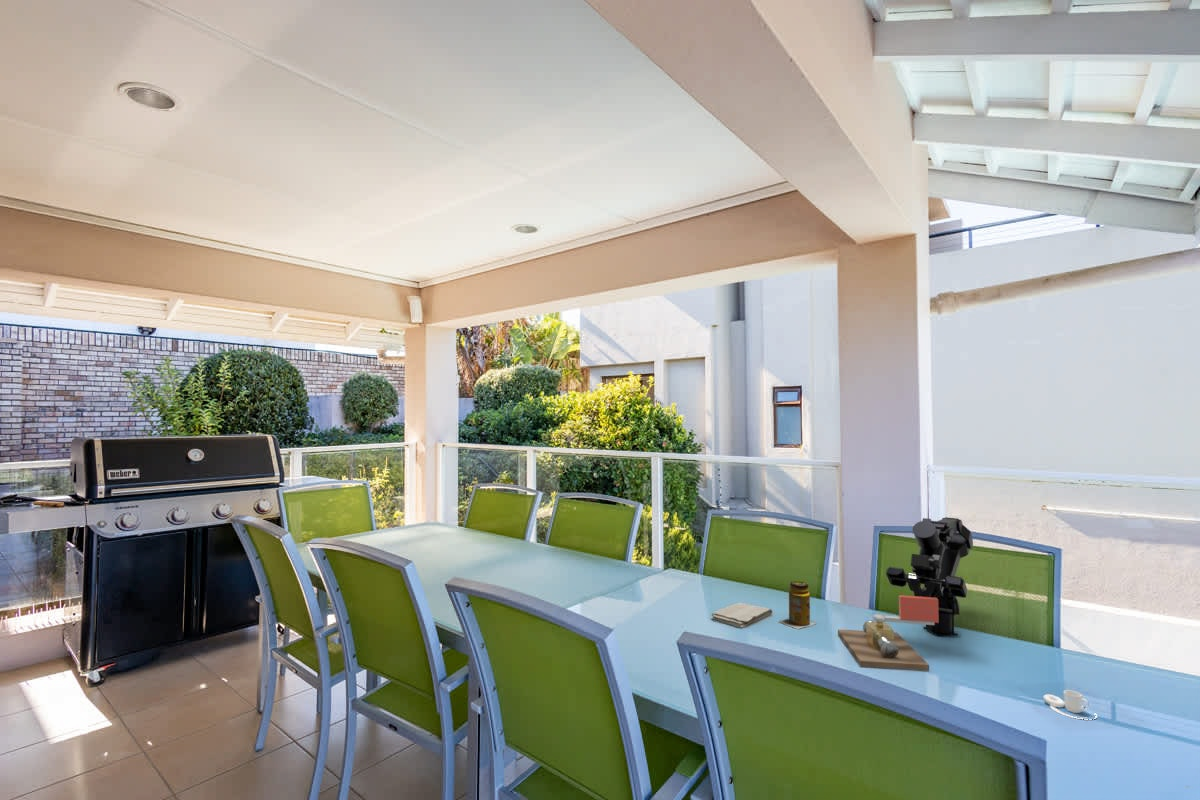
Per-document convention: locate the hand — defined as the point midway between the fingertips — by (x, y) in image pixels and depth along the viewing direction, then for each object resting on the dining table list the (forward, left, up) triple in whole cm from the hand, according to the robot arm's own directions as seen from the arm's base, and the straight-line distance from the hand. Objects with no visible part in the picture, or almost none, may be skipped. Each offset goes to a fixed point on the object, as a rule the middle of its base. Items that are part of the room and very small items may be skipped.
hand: (919, 609), depth 154 cm
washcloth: (+37, -32, -12) cm, 51 cm away
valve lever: (+4, 0, -3) cm, 5 cm away
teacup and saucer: (-14, +29, -12) cm, 35 cm away
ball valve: (+10, -2, -10) cm, 14 cm away
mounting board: (+10, -2, -12) cm, 15 cm away
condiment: (+22, -26, -12) cm, 36 cm away
